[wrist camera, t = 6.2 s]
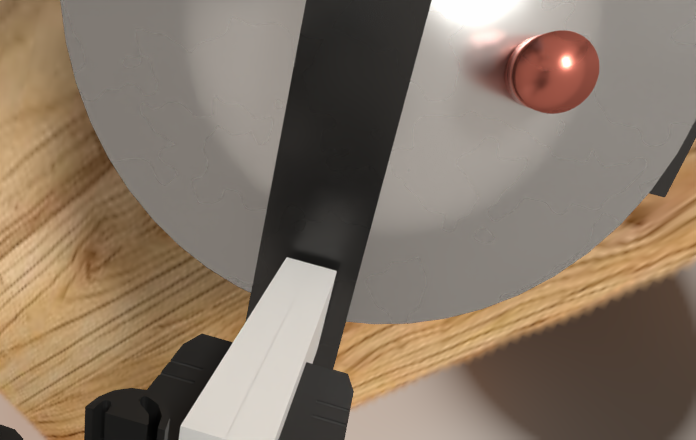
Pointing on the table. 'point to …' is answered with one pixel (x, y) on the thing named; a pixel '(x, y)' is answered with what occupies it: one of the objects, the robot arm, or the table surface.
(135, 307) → the table surface
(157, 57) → the lid
